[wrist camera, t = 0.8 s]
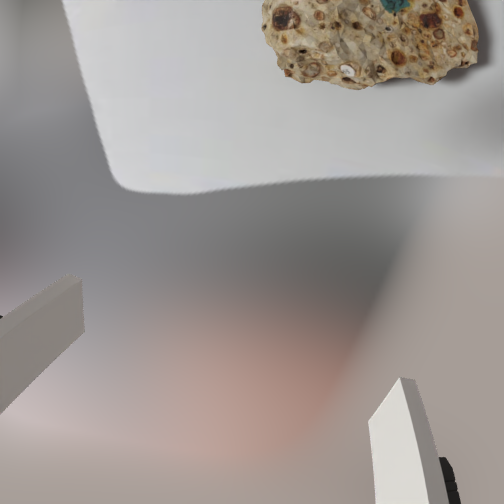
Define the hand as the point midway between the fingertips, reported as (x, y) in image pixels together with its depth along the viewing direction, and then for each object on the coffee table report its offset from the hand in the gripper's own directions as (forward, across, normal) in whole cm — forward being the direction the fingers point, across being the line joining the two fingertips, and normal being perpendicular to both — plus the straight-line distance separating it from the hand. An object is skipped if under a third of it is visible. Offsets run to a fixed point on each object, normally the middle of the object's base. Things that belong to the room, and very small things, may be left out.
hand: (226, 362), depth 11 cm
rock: (+22, +4, +23) cm, 32 cm away
